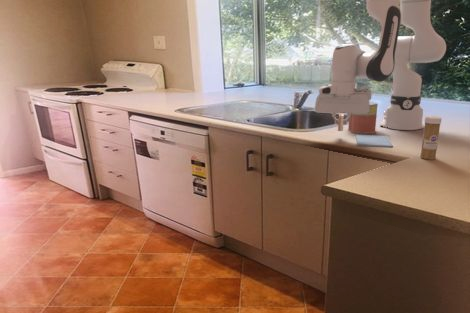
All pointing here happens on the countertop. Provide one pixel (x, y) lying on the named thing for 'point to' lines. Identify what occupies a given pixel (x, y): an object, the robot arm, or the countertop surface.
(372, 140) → the mat
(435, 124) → the sprinkles bottle
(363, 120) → the canned food
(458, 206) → the countertop surface
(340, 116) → the tile
